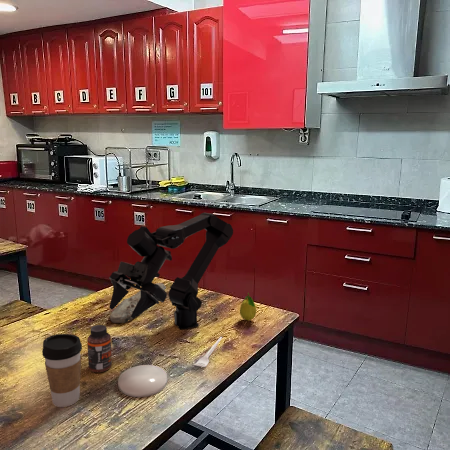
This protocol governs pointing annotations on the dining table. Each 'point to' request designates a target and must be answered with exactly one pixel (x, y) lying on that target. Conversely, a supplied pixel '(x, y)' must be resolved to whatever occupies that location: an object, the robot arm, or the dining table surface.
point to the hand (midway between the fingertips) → (121, 313)
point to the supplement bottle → (99, 349)
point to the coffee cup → (63, 367)
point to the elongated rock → (127, 308)
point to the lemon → (248, 308)
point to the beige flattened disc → (142, 381)
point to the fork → (207, 355)
